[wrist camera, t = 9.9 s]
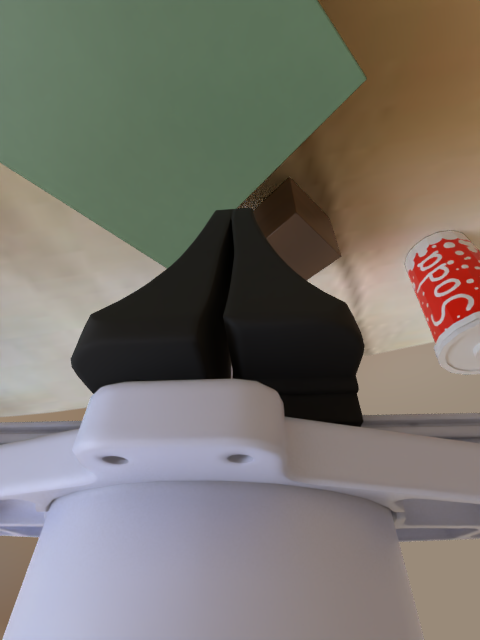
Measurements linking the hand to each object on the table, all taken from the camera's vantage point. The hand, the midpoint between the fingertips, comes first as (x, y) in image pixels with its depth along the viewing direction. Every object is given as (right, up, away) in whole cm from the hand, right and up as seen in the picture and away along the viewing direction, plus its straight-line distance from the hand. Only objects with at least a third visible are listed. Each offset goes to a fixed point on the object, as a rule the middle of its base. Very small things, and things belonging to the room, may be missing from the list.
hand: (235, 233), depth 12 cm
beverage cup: (+16, +2, +13) cm, 21 cm away
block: (+3, +4, +11) cm, 12 cm away
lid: (-4, +5, 0) cm, 7 cm away
